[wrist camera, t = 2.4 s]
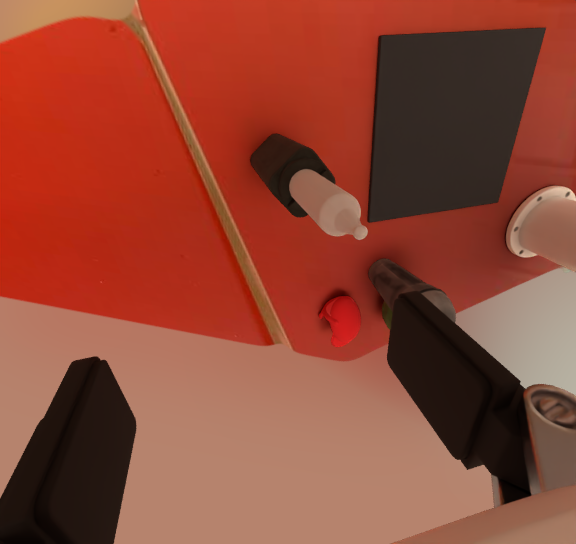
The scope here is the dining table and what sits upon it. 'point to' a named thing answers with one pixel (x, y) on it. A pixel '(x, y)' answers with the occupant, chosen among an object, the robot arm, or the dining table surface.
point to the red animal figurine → (342, 319)
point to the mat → (447, 118)
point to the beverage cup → (406, 286)
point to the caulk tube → (307, 186)
